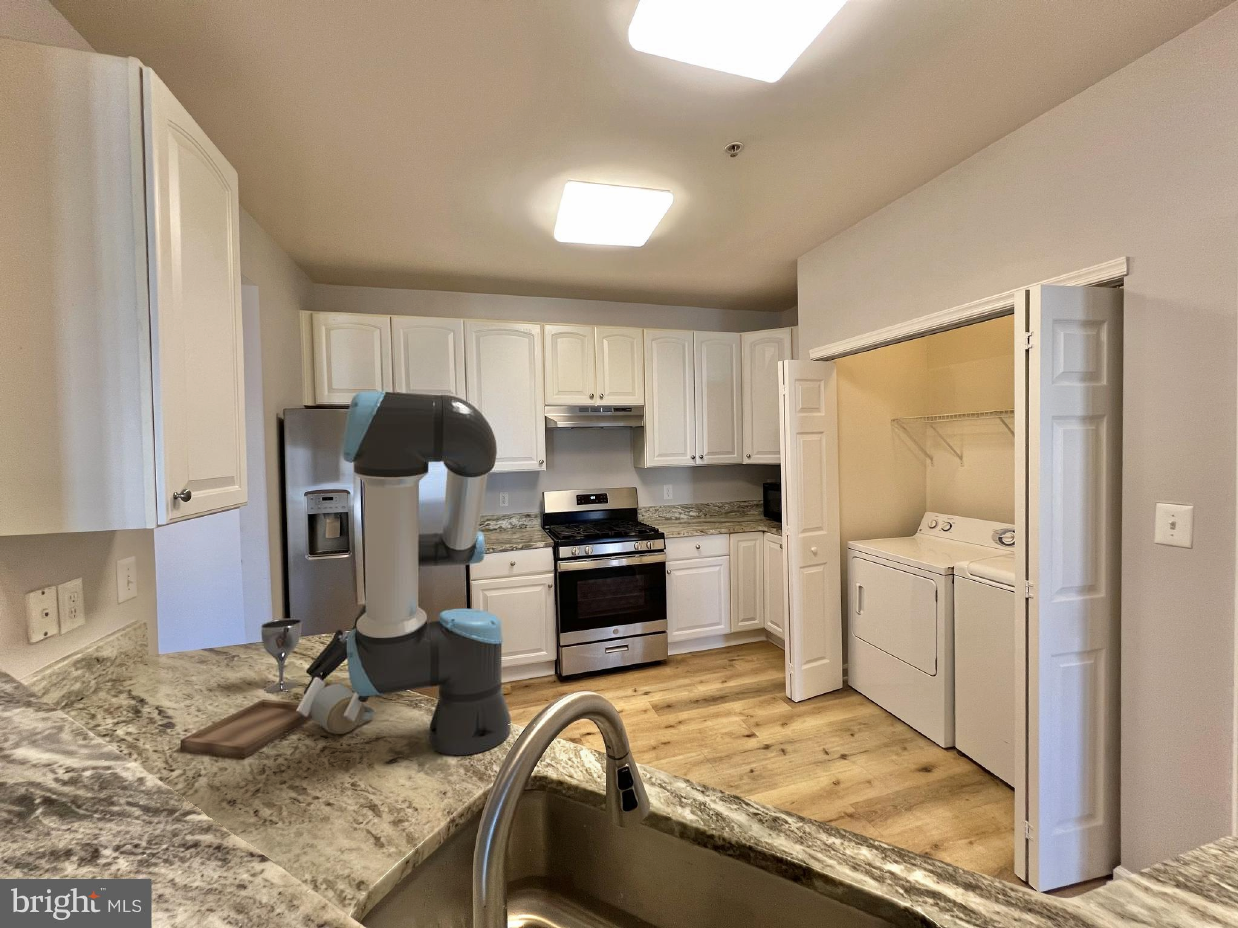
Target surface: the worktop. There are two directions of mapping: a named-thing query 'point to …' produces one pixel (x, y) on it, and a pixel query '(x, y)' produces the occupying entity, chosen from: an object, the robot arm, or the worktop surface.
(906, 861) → the worktop surface
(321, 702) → the ceramic mug
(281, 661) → the wine glass
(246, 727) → the walnut tray
